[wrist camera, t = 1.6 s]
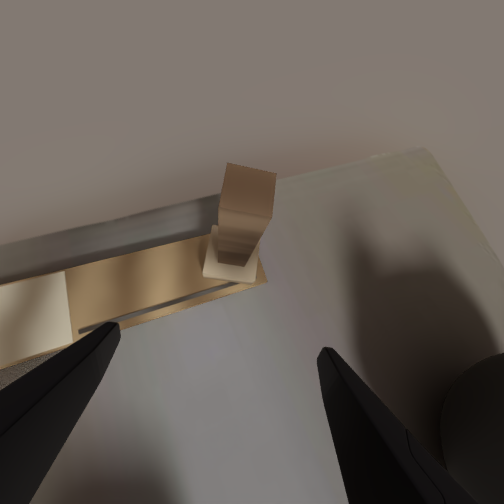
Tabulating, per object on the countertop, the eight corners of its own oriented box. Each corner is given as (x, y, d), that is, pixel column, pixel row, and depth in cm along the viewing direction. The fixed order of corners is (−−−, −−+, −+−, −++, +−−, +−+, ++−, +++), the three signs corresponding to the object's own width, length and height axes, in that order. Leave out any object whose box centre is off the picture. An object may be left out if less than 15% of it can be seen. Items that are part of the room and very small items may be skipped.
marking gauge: (251, 285, 22) (294, 244, 10) (204, 277, 21) (186, 225, 9) (257, 233, 24) (300, 145, 12) (214, 225, 23) (211, 125, 11)
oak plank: (246, 228, 25) (247, 224, 24) (264, 283, 24) (267, 281, 22) (-21, 295, 19) (-38, 293, 18) (-19, 375, 17) (-37, 380, 16)
